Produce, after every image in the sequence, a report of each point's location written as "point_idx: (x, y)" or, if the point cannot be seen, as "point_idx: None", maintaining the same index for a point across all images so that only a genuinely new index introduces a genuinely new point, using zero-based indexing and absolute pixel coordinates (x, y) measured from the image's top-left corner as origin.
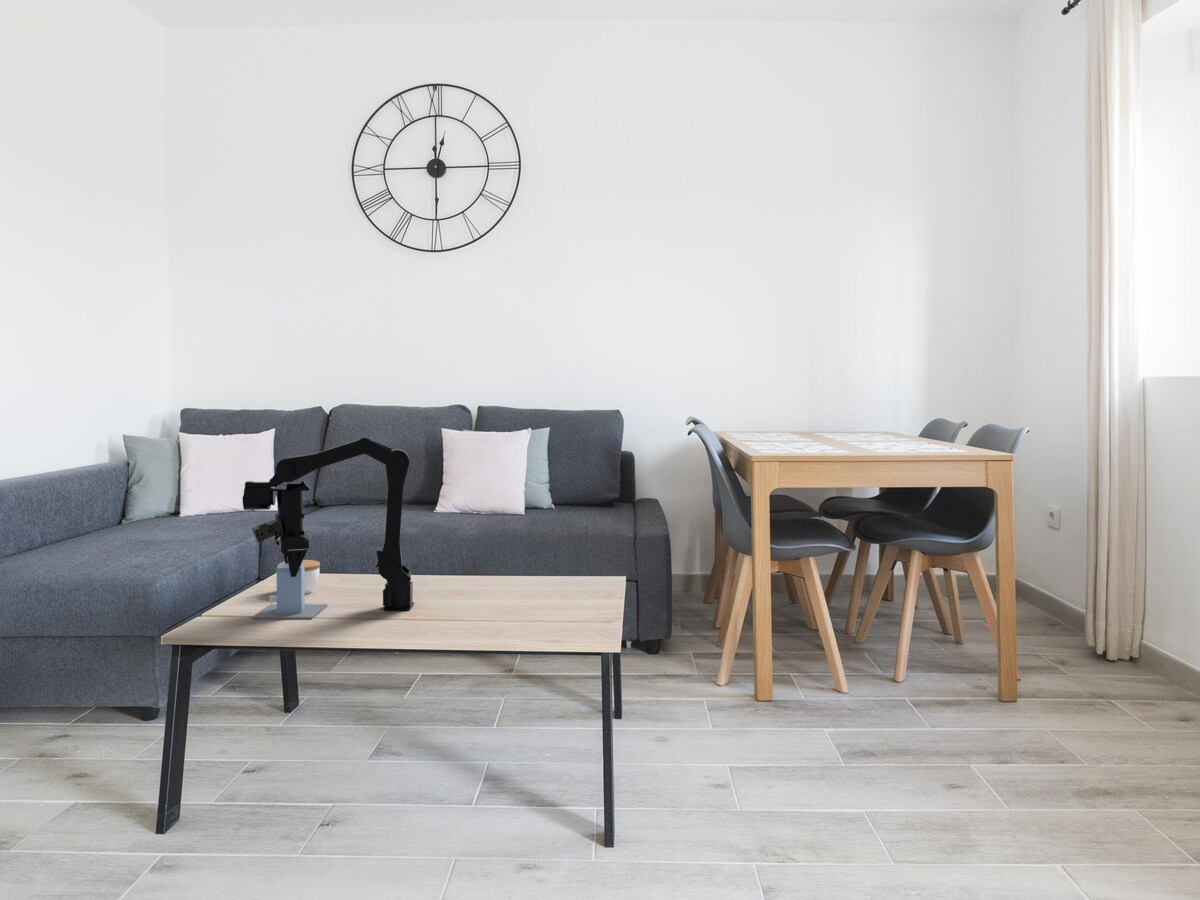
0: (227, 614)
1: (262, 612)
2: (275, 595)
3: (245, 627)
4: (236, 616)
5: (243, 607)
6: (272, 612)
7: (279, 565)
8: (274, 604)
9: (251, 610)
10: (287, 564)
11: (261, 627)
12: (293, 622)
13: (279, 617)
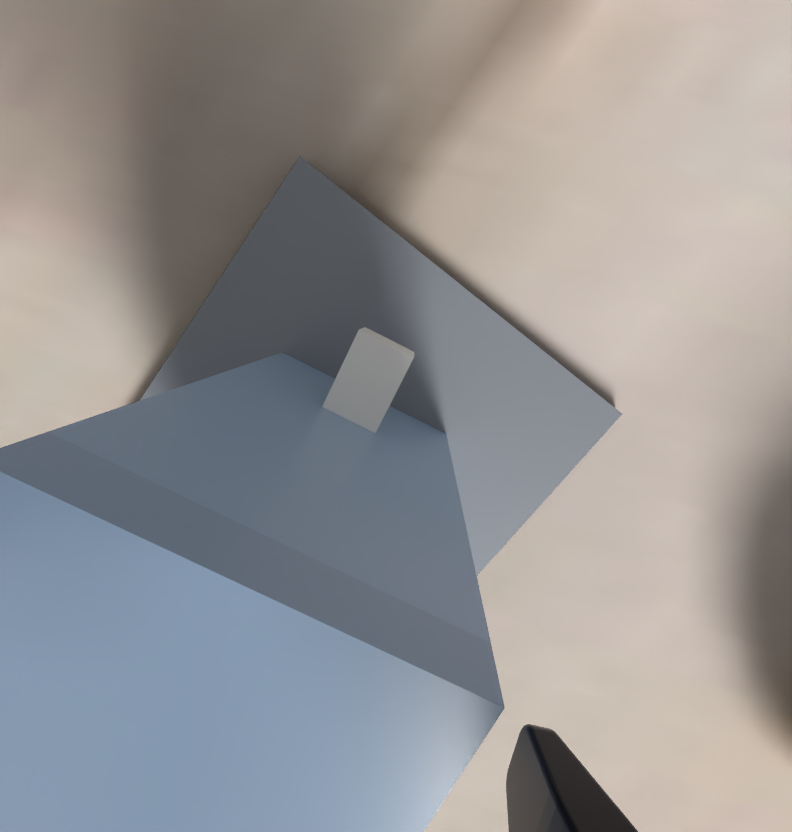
0: (583, 22)
1: (391, 272)
2: (381, 399)
3: (79, 39)
4: (465, 73)
5: (730, 214)
6: (343, 338)
7: (293, 626)
8: (587, 431)
9: (583, 241)
10: (309, 790)
11: (21, 150)
12: (51, 388)
13: (182, 338)
